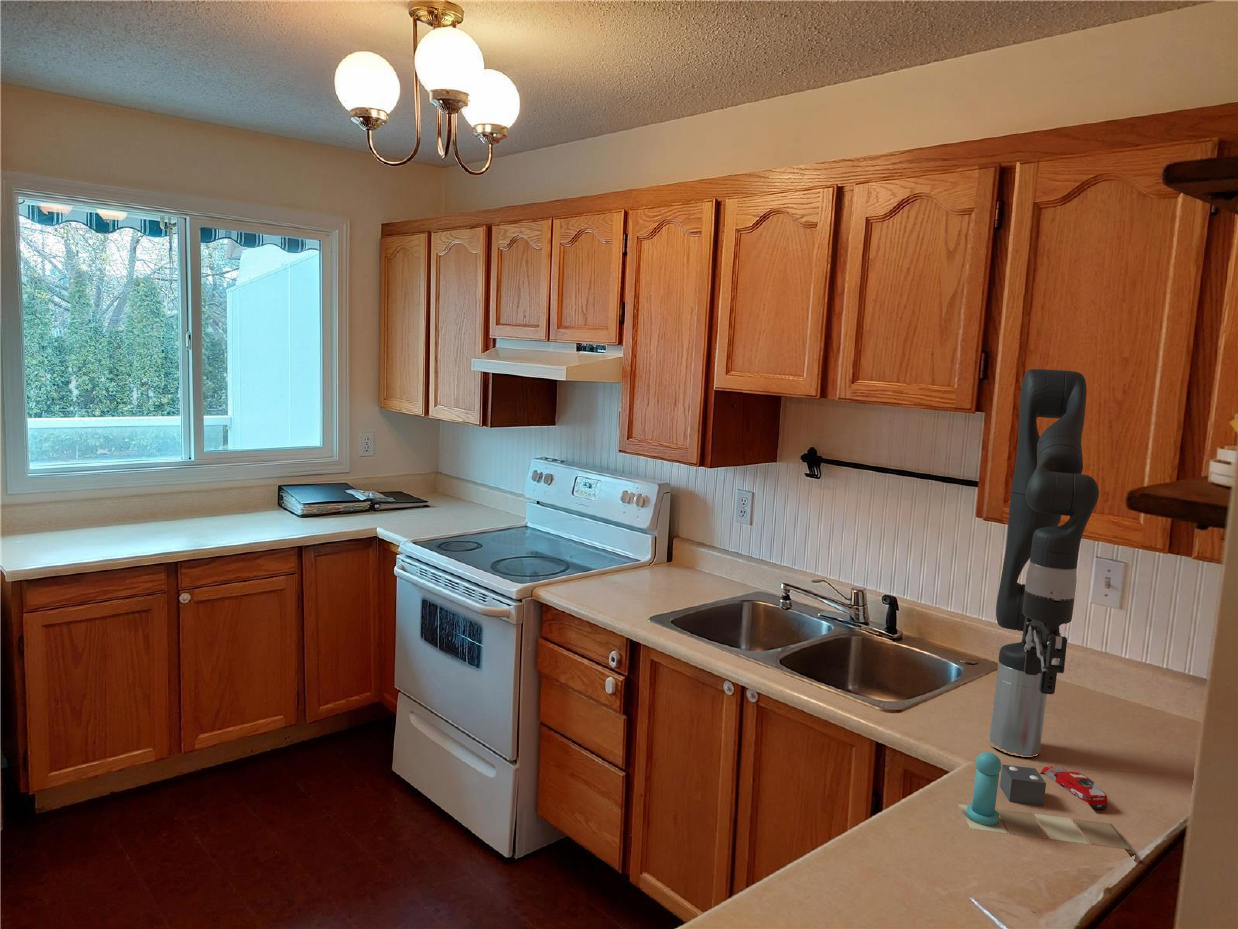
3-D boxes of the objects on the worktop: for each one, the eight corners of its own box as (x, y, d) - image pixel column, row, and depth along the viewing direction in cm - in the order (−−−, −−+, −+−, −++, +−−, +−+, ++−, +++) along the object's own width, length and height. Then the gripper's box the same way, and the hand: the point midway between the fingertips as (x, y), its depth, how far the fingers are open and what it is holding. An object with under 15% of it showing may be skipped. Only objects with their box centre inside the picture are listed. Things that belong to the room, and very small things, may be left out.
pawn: (963, 808, 141) (970, 745, 139) (993, 812, 140) (1001, 748, 139) (970, 824, 136) (978, 758, 135) (1002, 828, 135) (1009, 761, 134)
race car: (1033, 777, 158) (1035, 757, 158) (1059, 776, 159) (1061, 756, 159) (1084, 814, 145) (1086, 791, 145) (1111, 812, 146) (1114, 790, 146)
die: (998, 794, 150) (1002, 763, 149) (1031, 798, 149) (1035, 767, 148) (1008, 809, 144) (1011, 778, 144) (1042, 814, 144) (1046, 782, 143)
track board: (952, 810, 143) (953, 801, 143) (1110, 830, 140) (1111, 822, 139) (965, 838, 134) (966, 829, 134) (1135, 861, 131) (1136, 852, 131)
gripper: (1013, 578, 149) (1003, 666, 151) (1039, 600, 135) (1027, 697, 137) (1059, 582, 148) (1048, 671, 150) (1089, 605, 134) (1077, 702, 136)
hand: (1038, 683), depth 144 cm, fingers open, 8 cm apart
